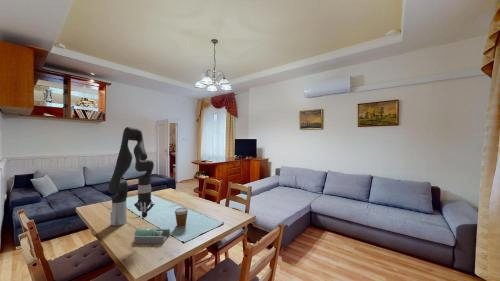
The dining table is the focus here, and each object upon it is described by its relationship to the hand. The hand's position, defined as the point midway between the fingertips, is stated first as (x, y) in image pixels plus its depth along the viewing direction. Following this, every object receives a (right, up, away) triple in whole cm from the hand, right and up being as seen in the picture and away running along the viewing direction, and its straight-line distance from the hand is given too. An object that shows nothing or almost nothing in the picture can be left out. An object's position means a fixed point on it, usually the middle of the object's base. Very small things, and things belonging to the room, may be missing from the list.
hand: (144, 217), depth 128 cm
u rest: (+5, -14, +1) cm, 15 cm away
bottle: (-6, -11, +1) cm, 12 cm away
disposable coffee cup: (+17, -14, +20) cm, 29 cm away
